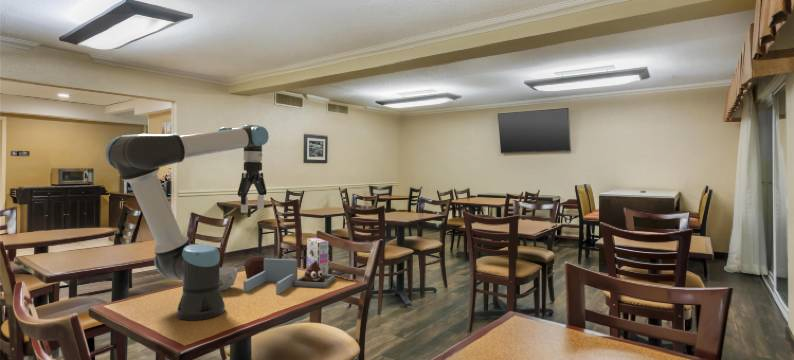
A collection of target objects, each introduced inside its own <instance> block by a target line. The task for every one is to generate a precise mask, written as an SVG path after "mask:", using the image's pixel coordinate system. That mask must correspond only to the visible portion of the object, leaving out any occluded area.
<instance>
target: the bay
mask: <svg viewBox="0 0 794 360" xmlns="http://www.w3.org/2000/svg"><path fill="white" fill-rule="evenodd" d="M297 279H298V259H290V258H289V259H287V258H266V257H265V259H264V271H263V272H261V273H259V274H257V275H255V276H253V277H251V278H249V279H247V278H246V279H245V280H243V293H248V292H249V291H251V290H253V289H255V288H257V287H259V286H260V285H262V284H264V283H265V282H276V283H275V294H276V295H280V294H282V293H283V292H285V291H286V290H287V289H289V288H291V287H292V286H294V281H296V280H297Z"/></svg>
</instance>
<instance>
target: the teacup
mask: <svg viewBox="0 0 794 360" xmlns="http://www.w3.org/2000/svg"><path fill="white" fill-rule="evenodd" d="M237 276H238V268H236V267H233V266H227V267H225V266H221V267H219V289H220V292H222V291H227V290H230V288H231V287H232V286H234V285H235V281H236V279H237Z"/></svg>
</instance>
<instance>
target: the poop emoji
mask: <svg viewBox="0 0 794 360" xmlns="http://www.w3.org/2000/svg"><path fill="white" fill-rule="evenodd" d="M304 275H305V276H304ZM304 275H303V276H304V277H303V282H323V281H324V280H325V276H324V275H323V272H322V271H321V269H320V267H319V266H318V264H317V261H314V262H313V263H312V264H311V265H310V266H309V268H308V269H307V268H306V271H305V272H304Z"/></svg>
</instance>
